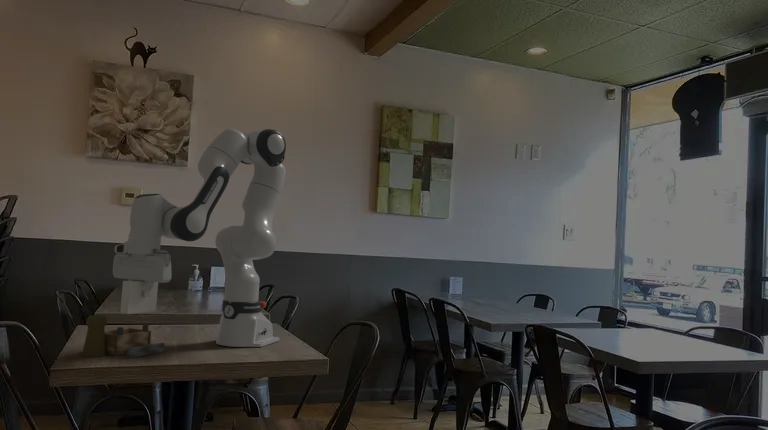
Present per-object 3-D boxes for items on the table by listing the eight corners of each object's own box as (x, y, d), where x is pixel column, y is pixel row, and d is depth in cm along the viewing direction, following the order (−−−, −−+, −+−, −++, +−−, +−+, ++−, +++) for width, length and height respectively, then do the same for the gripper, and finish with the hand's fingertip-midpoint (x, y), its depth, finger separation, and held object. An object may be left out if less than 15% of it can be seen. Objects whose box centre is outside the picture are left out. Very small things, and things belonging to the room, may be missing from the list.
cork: (96, 357, 158) (99, 317, 158) (76, 355, 159) (80, 315, 159) (110, 353, 163) (113, 315, 164) (92, 351, 165) (95, 313, 165)
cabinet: (128, 345, 176) (130, 321, 177) (163, 351, 170) (165, 326, 171) (94, 351, 166) (96, 325, 166) (130, 358, 159) (132, 330, 160)
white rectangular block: (127, 313, 161) (130, 281, 161) (117, 312, 162) (120, 280, 163) (155, 311, 170) (158, 280, 170) (146, 310, 171) (148, 279, 172)
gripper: (178, 250, 165) (174, 298, 164) (128, 246, 174) (124, 292, 173) (161, 250, 160) (157, 300, 159) (110, 246, 168) (106, 293, 168)
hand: (139, 296), depth 166 cm, fingers closed on white rectangular block, 3 cm apart
